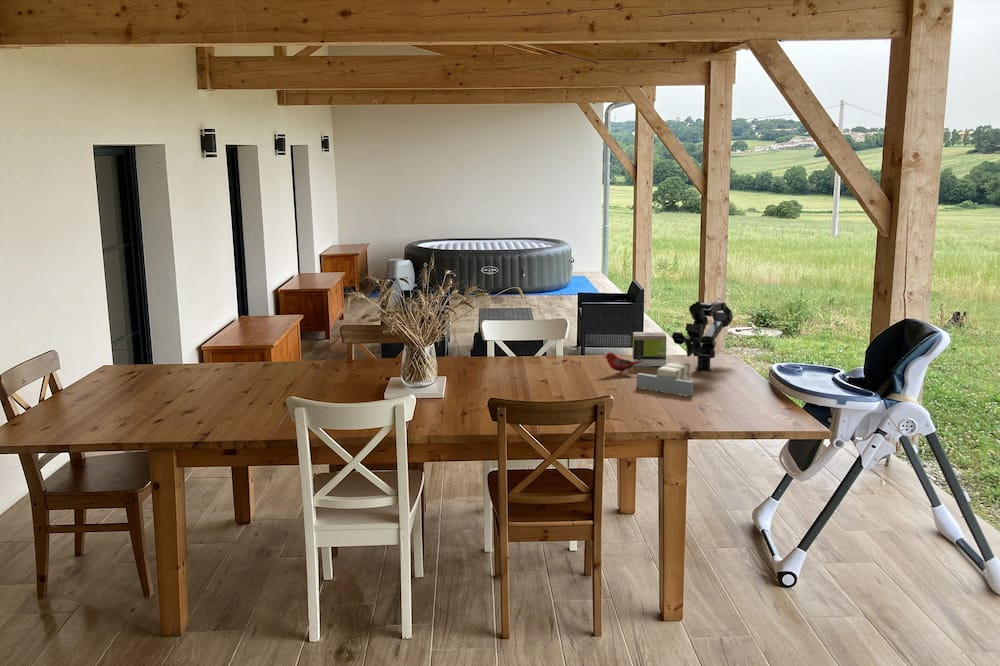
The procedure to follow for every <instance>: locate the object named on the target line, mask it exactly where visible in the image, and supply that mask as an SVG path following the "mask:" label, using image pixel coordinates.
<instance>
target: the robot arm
mask: <svg viewBox="0 0 1000 666" xmlns="http://www.w3.org/2000/svg"><path fill="white" fill-rule="evenodd" d="M688 311H689V313H690V316H691V319H692V320H693V322H692V323H686V325H685V332H686V335H685V334H684V333H683V332H681V331H679V332H678V331H677V332H676V331H674V332H673V333H672V334H671V335H672V336H671V337H672V340H673V342H674V344H677V345H683V344H685V347H686V356H687V357H690V356H691V355H693V357H697V361H696V362H697V363H696V364H697V365H696V366H695V369H696V371H698V372H712V371H713V370H712V368H711V359H715V357H716V350H715V348H716V346H717V343H716V338H717V337H718V335H720V332H721V331H722V329H723V328H725V327H728V326H729V325H730V324H731V323H732V322H733V319H734V318H733V312H732V309H730V308H729V307H728V306H727V303H726V302H725V301H719V300H718V301H714V302H710V303H707V302H701V301H695V303H693V304H691V305H690V306H689V307H688ZM708 317H712V319H713V320H712V321H713V322H712V323H711V325H710V327H709V328H708V330H707V331H706V327H707V326H708V325H709V319H708ZM705 331H706V333H705Z"/></svg>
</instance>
